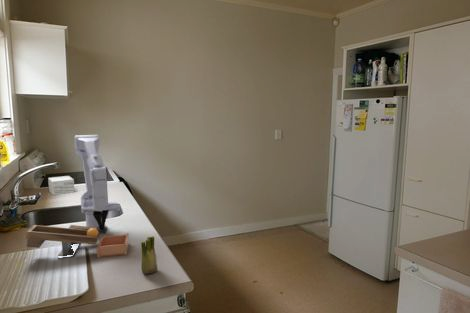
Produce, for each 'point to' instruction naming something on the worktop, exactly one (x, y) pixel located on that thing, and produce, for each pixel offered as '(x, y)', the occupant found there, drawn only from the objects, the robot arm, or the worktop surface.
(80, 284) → the worktop surface
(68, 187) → the white napkin stack
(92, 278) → the worktop surface
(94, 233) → the ball
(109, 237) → the open box
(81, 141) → the robot arm
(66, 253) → the stand
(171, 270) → the worktop surface
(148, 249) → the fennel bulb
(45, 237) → the wooden tray
